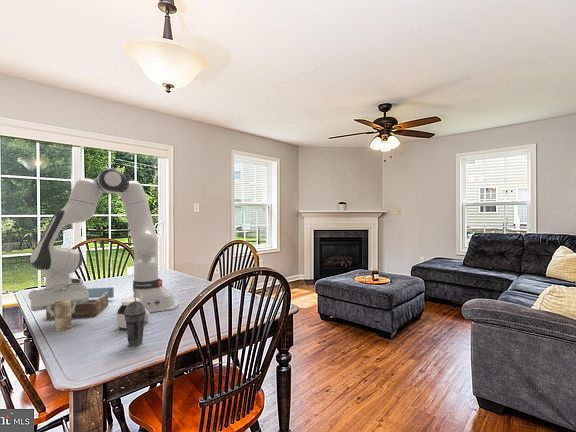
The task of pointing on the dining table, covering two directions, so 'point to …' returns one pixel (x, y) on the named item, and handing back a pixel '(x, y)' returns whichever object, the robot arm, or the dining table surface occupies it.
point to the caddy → (86, 308)
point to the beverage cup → (135, 322)
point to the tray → (99, 293)
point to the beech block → (63, 315)
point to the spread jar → (120, 314)
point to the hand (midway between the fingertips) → (63, 314)
